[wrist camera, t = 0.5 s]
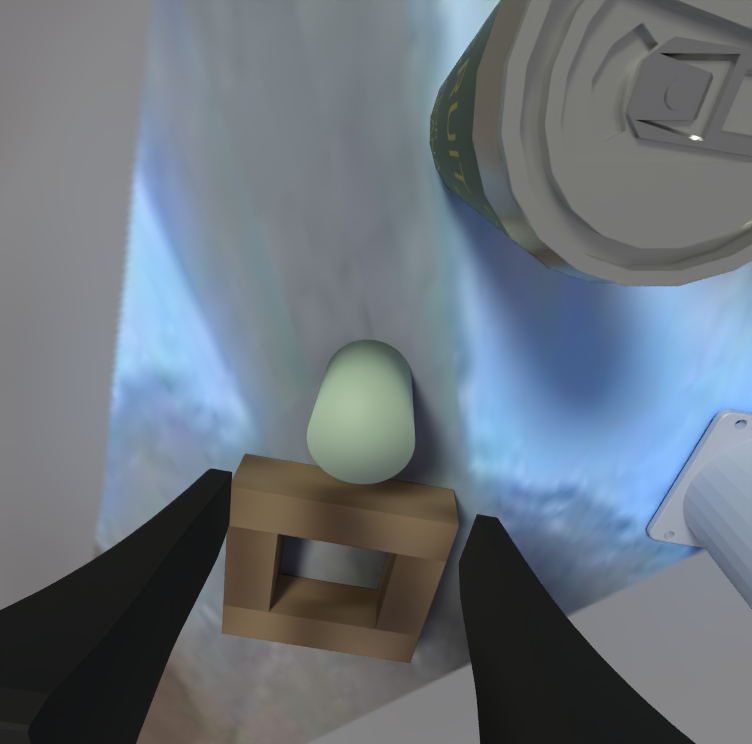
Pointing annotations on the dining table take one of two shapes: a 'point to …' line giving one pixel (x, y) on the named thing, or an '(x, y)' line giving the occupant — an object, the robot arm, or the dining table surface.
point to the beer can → (607, 135)
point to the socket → (341, 526)
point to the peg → (364, 414)
